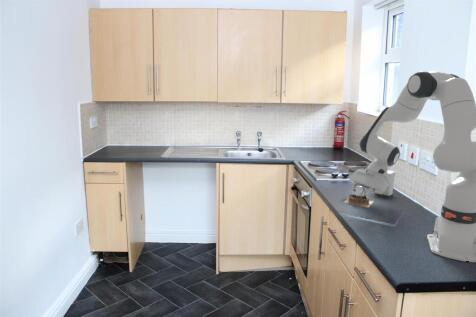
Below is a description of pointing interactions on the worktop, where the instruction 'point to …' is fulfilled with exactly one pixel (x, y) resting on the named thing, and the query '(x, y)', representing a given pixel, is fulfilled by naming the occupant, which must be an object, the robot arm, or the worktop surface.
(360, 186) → the peg
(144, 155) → the worktop surface
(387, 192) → the supplement box
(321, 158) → the worktop surface
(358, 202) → the brown cake on plate
